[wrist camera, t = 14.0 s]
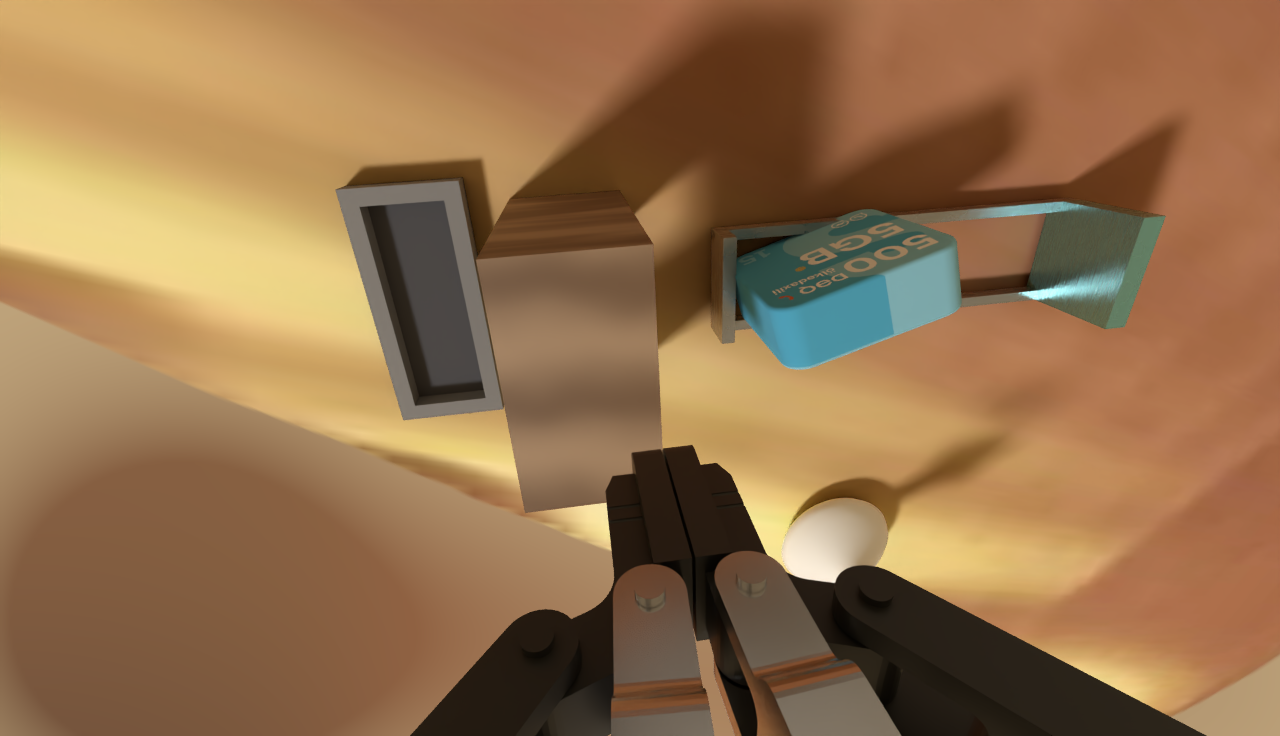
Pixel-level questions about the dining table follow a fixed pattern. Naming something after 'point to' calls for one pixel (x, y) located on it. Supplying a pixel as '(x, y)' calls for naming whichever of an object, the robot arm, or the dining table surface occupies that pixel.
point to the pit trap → (425, 293)
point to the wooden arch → (573, 342)
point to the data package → (847, 286)
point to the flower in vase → (834, 539)
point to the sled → (1060, 277)
